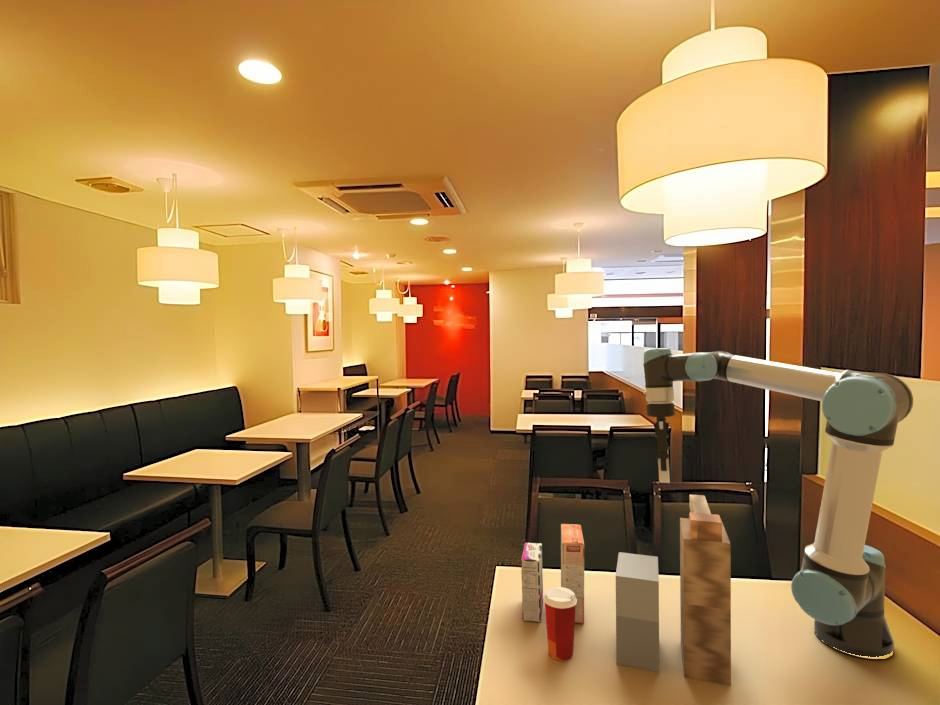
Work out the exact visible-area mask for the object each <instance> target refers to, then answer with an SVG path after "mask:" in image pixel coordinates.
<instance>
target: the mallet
mask: <svg viewBox="0 0 940 705" xmlns="http://www.w3.org/2000/svg"><path fill="white" fill-rule="evenodd" d="M688 497H689V498H688V499H689V510H690V511H688V513H689V514H688V519H689V532H690V536H691V539H700V540H710V541H719V542H722V523H723V521H722V518H721V517H720V514H713V513H712V512H711V510H710V507H709V504H708V501H707V499H706V496H705V495H703V494H689V496H688Z"/></svg>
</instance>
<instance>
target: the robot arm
mask: <svg viewBox="0 0 940 705" xmlns="http://www.w3.org/2000/svg"><path fill="white" fill-rule="evenodd" d="M642 365H643V370H644V371H643V372H644V382H645V385H644V388H645V390H643V392H642V393H643V395H645V401H646V402H647V403H646V405H645V407H646V416H647V417H650V418H655V419H656V422H655V421H654V422H653V430H654V434H655V438H656V443H657V454H656V455H655V457H654V458H655V459H657V464H658V465H657V466H658V468H657V469H658V481H659V483H660V484H661V483H662V484H663V483H664V484H665V483H666V484H670V483H671V479H670V478H671V477H670V463H669V462H670V460H669V450H671V446H670V445H669V444H668V438H669V430H670V425H669V424H670V423H669V422H666V420H667V417H668V418H670V417H674V416H675V415H676V413H675V410H676V408H675V404H674V402H673V401H675V392H674V382H706V381H711V380H713V379H715V380H721V381H726V382H729V383H730V382H731V383H736V384H740V385H745V386H749V387H753V388H754V387H755V388H758V389H763V390H768V391H773V392H778V393H782V394H787V395H792V396H796V397H801V398H805V399H810V400H814V401H819V402H821V411H822V413H823V416H824V418H825V419H826V423H825V427H824V428H825V430H824V433H825V434H826V436H827V437H828V438H829V439H830V442H831V445H830V450H829V457H828V463H827V466H826V467H827V468H826V473H825V478H824V485H823V490H822V496H821V501H820V502H821V503H820V506H819V507H820V508H819V513H818V514H819V515H818V520H817V525H816V530H815V535H814V536H815V538H814V541H813V543H810V544H808V545H806V546H805V548H804V552H803V558H802V562H801V568H800V570H799V571H797V572H796V573H795V575H794V577H793V578H792V579H791V585H790V586H791V593H792V596H793V598H794V601H796V603H797V604H798V606H799V607H800V609H801V610H802V611H803V612H805V614H806V615H807V616H809V617H810V618H812V619H813V620H814V621H813V623H814V624H813V625H814V626H813V627H814V628H813V630H815V632H814V634H815V633H816V634H817V636H818V637H819V638H820V639H821V640H823V641H824V642H825V643H827V644H828V645H830V646H832V647H835V648H837V649H839V650H842V651H845V652H847V653H851V654H855V655H859V656H860V655H861V656H868V657H869V656H870V657H876V656H877V657H879V656H884V655H887V654H890V653H891V652H892V651H893V649H894V650H895V643H894V639H893V635H892V633H891V630H890V628H889V625H888V622H887V619H886V617H885V600H886V599H885V594H886V593H885V588H886V587H885V585H886V584H885V583H886V582H885V579H886V578H885V577H886V576H885V575H886V568H887V566H886V563H885V556H884V553H882V552H881V551H880V550H878V549H877V548H874V547H873V546H870V545H867V544H866V540H867V535H868V534H867V533H868V530H869V524H870V520H871V513H872V506H873V503H874V502H873V501H874V498H875V491H876V486H877V481H878V477H879V476H878V475H879V472H880V465H881V461H882V455H883V452H884V451H886V450H888V449H890V448H892V447H894V444H895V438H896V433H897V429H898V424H899V423H900V422H901V421H903V420H904V419H905V418H906V417H908V416H909V415H910V413H911V412H912V409H913V406H914V396H913V393H912V390H911V389H910V387H909V385H908V384H906V383H905V382H904V381H903V380H902V379H901V378H898V377H897V376H895V375H892V374H889V373H885V372H868V371H858V370H852V369H845V370H844V371H842V372H837V371H832V370H831V371H830V370H824V369H820V368H819V369H818V368H813V367H808V366H801V365H795V364H791V363H783V362H778V361H772V360H768V359H767V360H766V359H760V358H756V357H755V358H753V357H749V356H748V357H747V356H743V355H736V354H731V353H730V352H727V351H721V350H716V351H711V352H710V351H709V352H707V351H706V352H701V351H700V352H690V353H689V352H688V353H678V354H676V353H675V354H674V353H672V350H671V349H670V348H668V347H659V348H649V349H648V348H647V349H645V350H644V352H643V364H642ZM668 445H669V446H668ZM816 634H815V635H816ZM817 636H816V637H817ZM818 637H817V638H818ZM819 638H818V639H819ZM820 639H819V640H820ZM821 640H820V641H821ZM824 642H823V643H824ZM825 643H824V644H825ZM828 645H827V646H828ZM830 646H829V647H830Z"/></svg>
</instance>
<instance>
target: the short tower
mask: <svg viewBox="0 0 940 705" xmlns="http://www.w3.org/2000/svg"><path fill="white" fill-rule="evenodd" d="M659 577H660V576H659V557H658V556H655V555H646V554H645V555H644V554H639V553H638V554H637V553H629V552H623V551H622V552H621V551H620V552H618V555H617V563H616V571H615V644H616V645H615V646H616V647H615V648H616V649H615V650H616V651H615V652H616V657H615V658H616V665H620V666H625V667H631V668H635V669H641V670H647V671H651V672H657V673H659V672H660V588H659V587H660V584H659V583H660V578H659Z"/></svg>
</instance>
